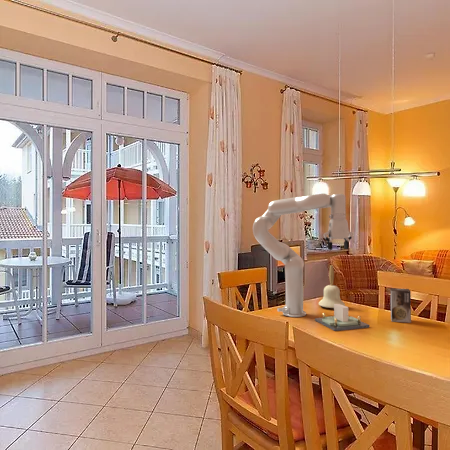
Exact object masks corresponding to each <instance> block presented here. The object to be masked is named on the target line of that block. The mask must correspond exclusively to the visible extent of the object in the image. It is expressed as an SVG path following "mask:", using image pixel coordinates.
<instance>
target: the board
mask: <svg viewBox="0 0 450 450" xmlns="http://www.w3.org/2000/svg"><path fill="white" fill-rule="evenodd" d="M348 316H349V307H348V306H346V305H345V306H344V305H341V304H334V308H333V316H325V319H322V321H323V322H325V323H327V324H329V325H335V319H334V318H337V325H339V326H348V325H358V317H357V318H356V317H354V316H351V315H350V316H349V317H348ZM360 322H362V320H361V319H360Z"/></svg>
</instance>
